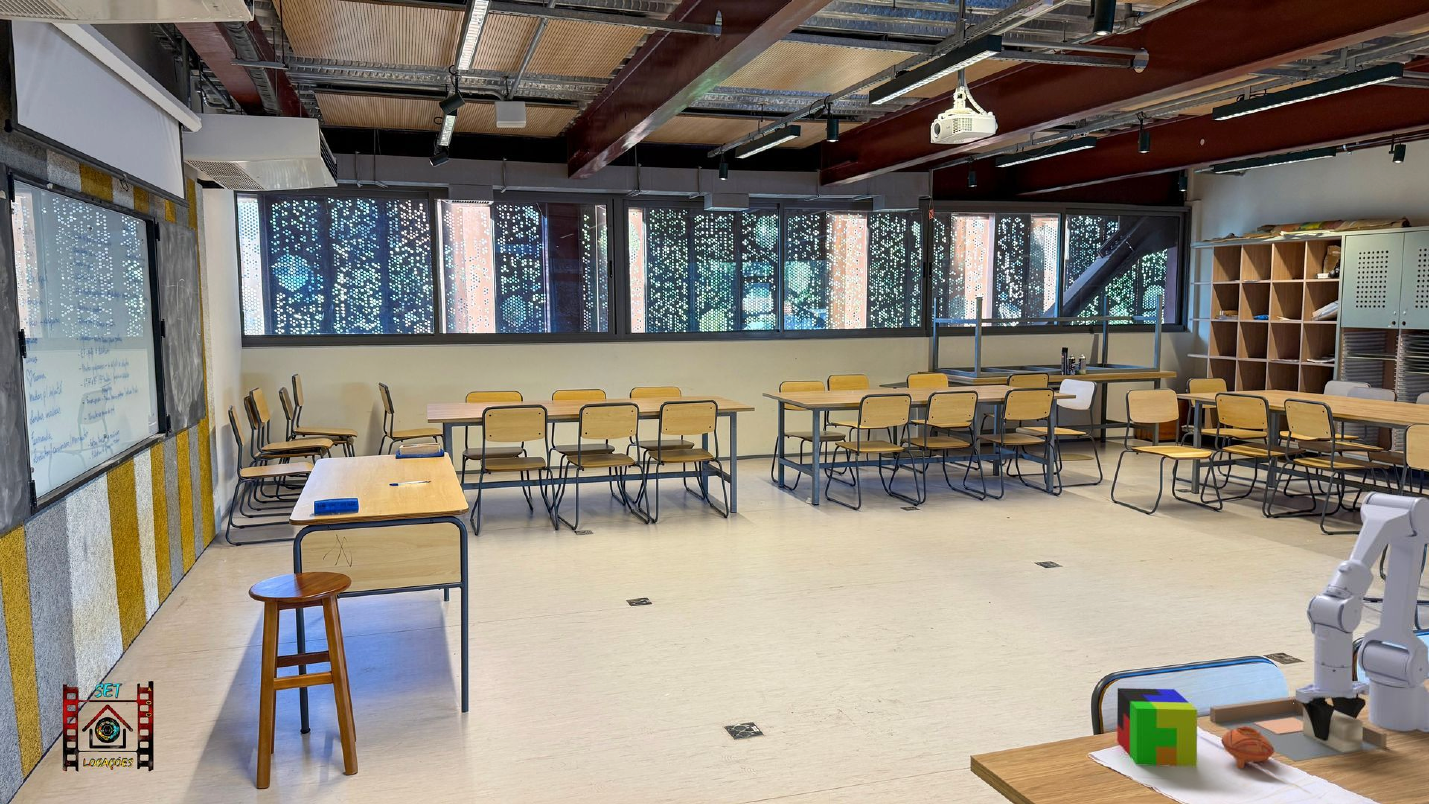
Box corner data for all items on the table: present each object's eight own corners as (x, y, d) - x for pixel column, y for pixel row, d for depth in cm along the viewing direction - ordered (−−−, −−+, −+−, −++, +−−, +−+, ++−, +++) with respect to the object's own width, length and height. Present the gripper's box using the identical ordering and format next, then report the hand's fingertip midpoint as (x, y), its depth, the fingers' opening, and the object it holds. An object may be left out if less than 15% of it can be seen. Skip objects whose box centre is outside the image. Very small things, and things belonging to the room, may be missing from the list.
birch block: (1322, 732, 171) (1322, 705, 171) (1362, 749, 164) (1362, 721, 163) (1302, 734, 170) (1303, 708, 170) (1342, 752, 163) (1342, 724, 162)
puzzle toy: (1173, 743, 170) (1174, 689, 169) (1196, 766, 160) (1197, 709, 159) (1117, 741, 171) (1117, 688, 170) (1136, 765, 161) (1136, 708, 160)
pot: (1207, 756, 163) (1214, 718, 164) (1243, 761, 165) (1249, 723, 165) (1244, 773, 155) (1251, 733, 156) (1281, 779, 157) (1288, 739, 158)
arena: (1294, 712, 183) (1294, 696, 183) (1386, 751, 164) (1386, 733, 164) (1210, 724, 178) (1210, 707, 178) (1294, 765, 159) (1295, 746, 159)
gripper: (1320, 673, 161) (1319, 750, 161) (1386, 665, 164) (1384, 740, 165) (1285, 661, 167) (1285, 735, 168) (1349, 653, 171) (1348, 725, 172)
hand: (1332, 737), depth 167 cm, fingers closed on birch block, 4 cm apart
